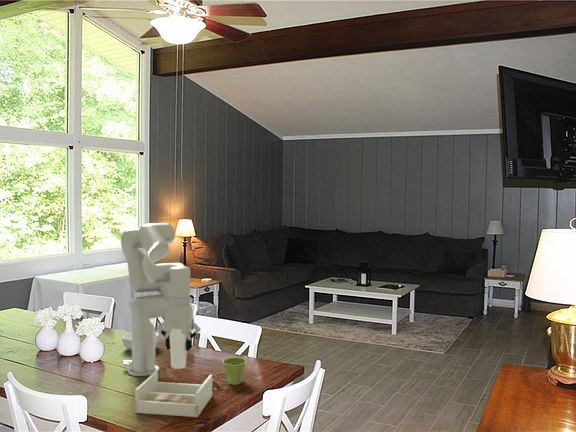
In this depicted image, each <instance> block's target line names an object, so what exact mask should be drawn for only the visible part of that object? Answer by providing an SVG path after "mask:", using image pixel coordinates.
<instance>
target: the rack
mask: <svg viewBox="0 0 576 432" xmlns="http://www.w3.org/2000/svg"><path fill="white" fill-rule="evenodd" d="M207 376H208V377H206V379H205V380H204V381H203V382H202V384H199V383H198V384H197V383H185V382H183V383H181V382H165V381H159V371H155V372H154V373H153V374H152V375H149V376H148V377H147V378H146V379H145V380H144V381H142V383H141V384H140V385H138V386H137V387H136V388H135V389H134V392H135V393H134V413H135V414H137V413H138V414H148V415H149V414H150V415H162V416H174V417H175V416H176V417H177V416H179V417H190V418H191V417H192V418H198V417H199V415H200V414H201V413H202V412H203V410H204V408H205V407H206V405H207V404H208V403H209V401H210V400H211V398H212V397H213V374H209V375H207ZM160 393H162V394H177V395H182V399H185V400H188V404H187V403H172V402H157V401H155V398H156V397H157V396H158V395H159V394H160Z"/></svg>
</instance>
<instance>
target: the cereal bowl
mask: <svg viewBox="0 0 576 432" xmlns="http://www.w3.org/2000/svg"><path fill="white" fill-rule="evenodd" d="M159 340H160V333H158V331H155V346H156V345H158V342H159ZM121 341H122V345H123V346H124V347H125V348H126V349H127V350H130V351H132V331H130V332H127V333H124V334H123V335H122V337H121Z"/></svg>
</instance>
